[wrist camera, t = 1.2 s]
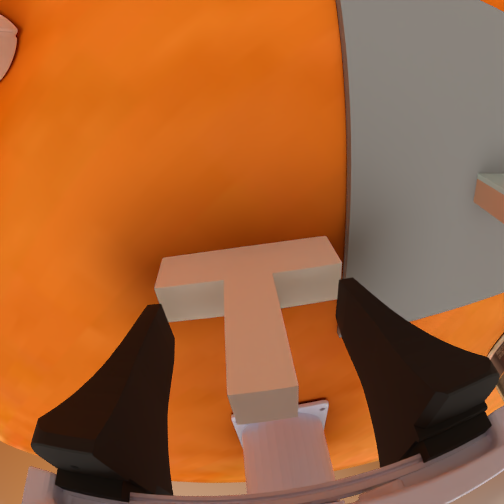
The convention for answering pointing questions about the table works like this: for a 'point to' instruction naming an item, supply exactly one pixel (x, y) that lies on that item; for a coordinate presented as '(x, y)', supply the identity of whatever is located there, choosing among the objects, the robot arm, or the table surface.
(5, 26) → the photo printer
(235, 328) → the beige t-shaped block
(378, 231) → the mat
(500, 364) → the coffee can
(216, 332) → the table surface
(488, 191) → the tile
